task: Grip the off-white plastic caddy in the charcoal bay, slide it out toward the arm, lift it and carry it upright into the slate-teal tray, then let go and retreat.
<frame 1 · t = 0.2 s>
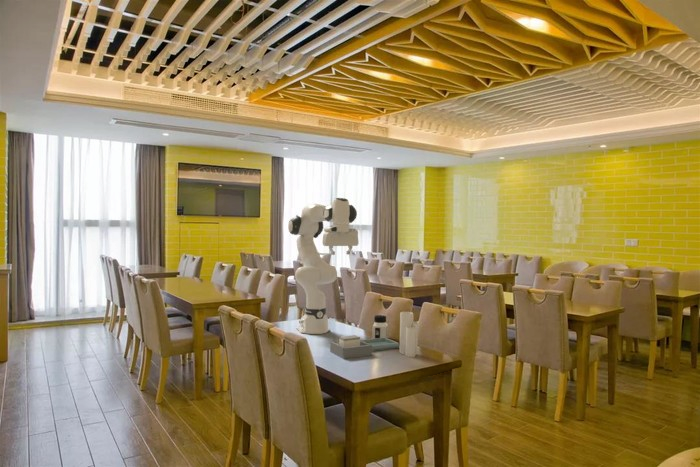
hand: (340, 254, 261), 47 cm above the table, fingers open, 8 cm apart
bay: (349, 352, 244), on the table
candle: (409, 354, 244), on the table
container: (379, 338, 276), on the table
tray: (377, 346, 257), on the table
caddy: (349, 353, 244), on the table
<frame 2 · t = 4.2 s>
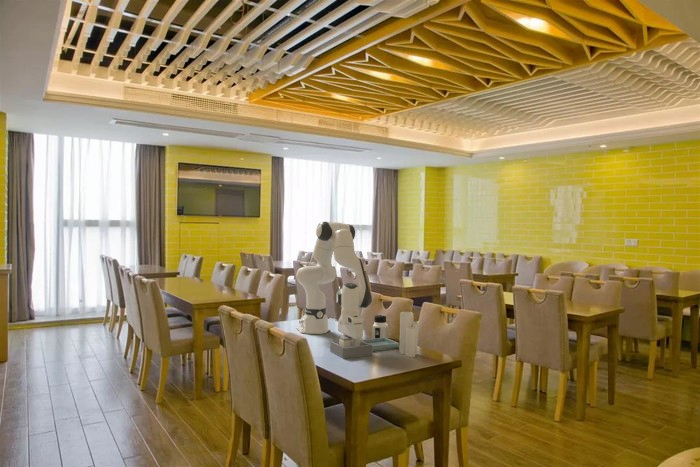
hand: (349, 344, 244), 4 cm above the table, fingers closed on caddy, 5 cm apart
caddy: (349, 352, 244), on the table, touching gripper
everything else where it was.
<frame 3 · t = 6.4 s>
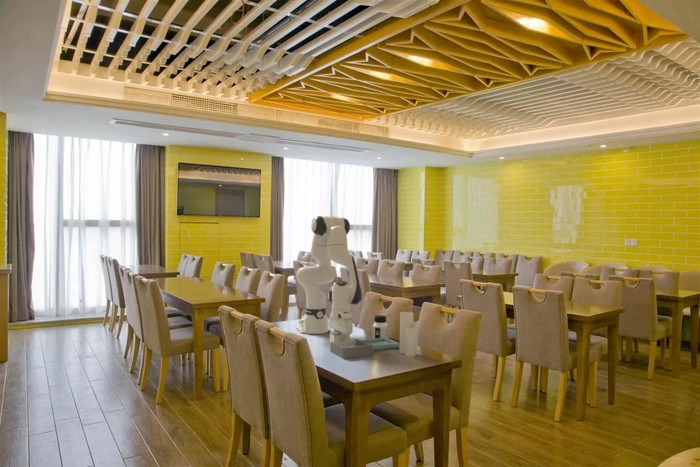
hand: (339, 339, 253), 4 cm above the table, fingers closed on caddy, 5 cm apart
caddy: (339, 347, 253), on the table, touching gripper
everything else where it was.
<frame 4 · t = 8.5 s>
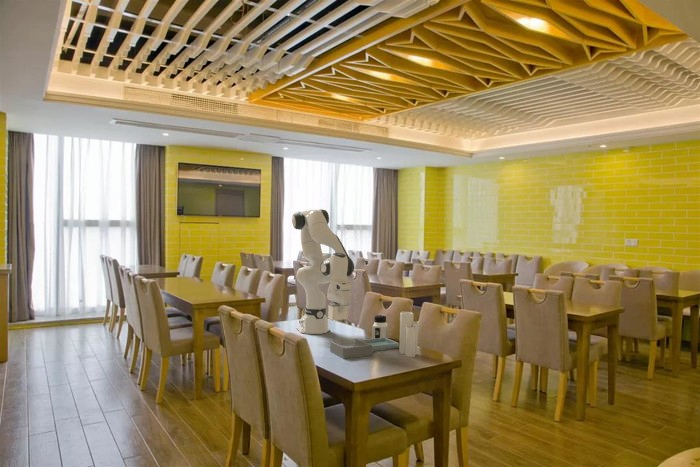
hand: (338, 311, 255), 19 cm above the table, fingers closed on caddy, 5 cm apart
caddy: (338, 318, 255), point 15 cm above the table, touching gripper
everything else where it was.
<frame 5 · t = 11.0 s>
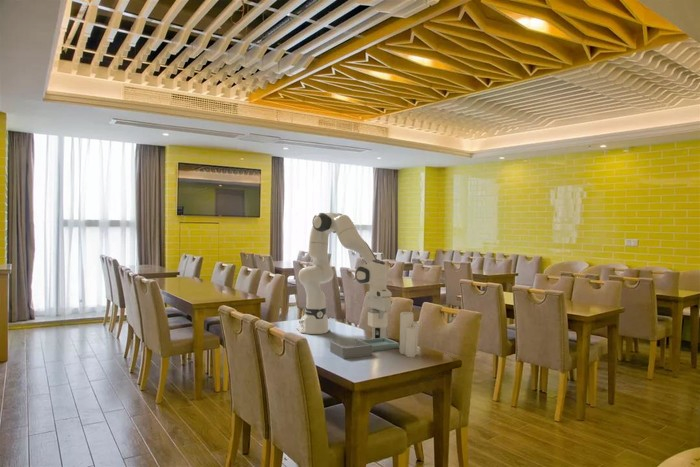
hand: (377, 317, 257), 15 cm above the table, fingers closed on caddy, 5 cm apart
caddy: (377, 325, 257), point 11 cm above the table, touching gripper
everything else where it was.
when the fingers open (6 cm above the table, at t = 13.0 s): caddy stays where it is, resting on tray.
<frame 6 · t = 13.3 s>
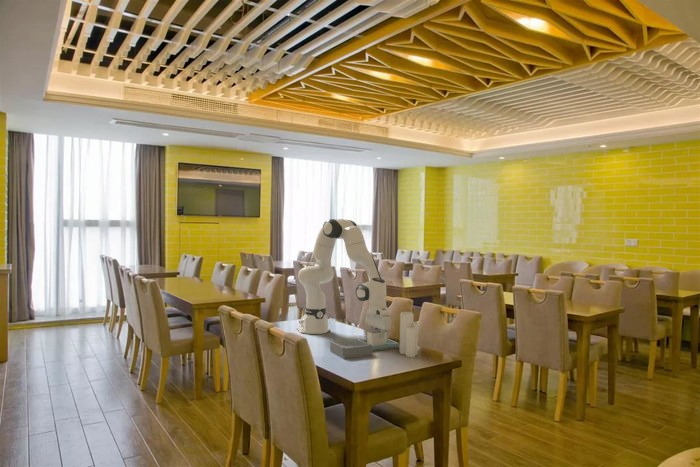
hand: (377, 335, 257), 6 cm above the table, fingers open, 8 cm apart
caddy: (376, 345, 257), point 1 cm above the table, touching tray
everything else where it was.
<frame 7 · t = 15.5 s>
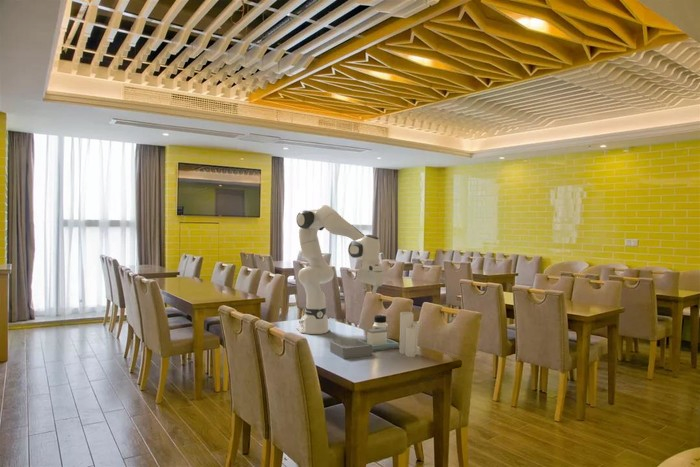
hand: (369, 292, 259), 28 cm above the table, fingers open, 8 cm apart
nothing on the table moved.
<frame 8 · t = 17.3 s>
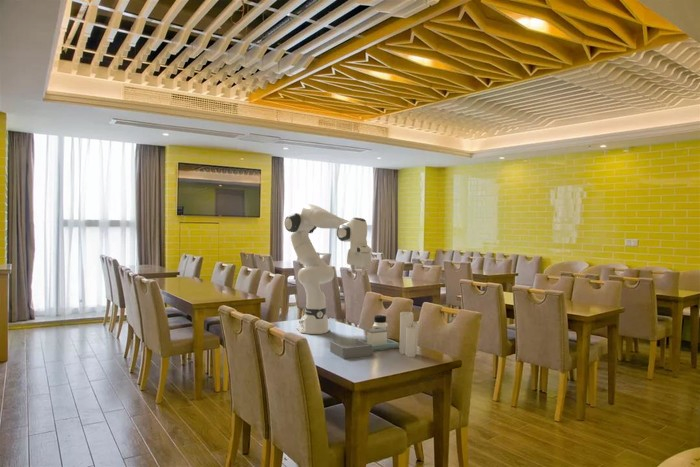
hand: (358, 274, 261), 37 cm above the table, fingers open, 8 cm apart
nothing on the table moved.
at the end: caddy inside the target area on the tray (0.1 cm from its centre), point 0.8 cm above the tray's base; caddy tilted 0°; the gripper is holding nothing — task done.
